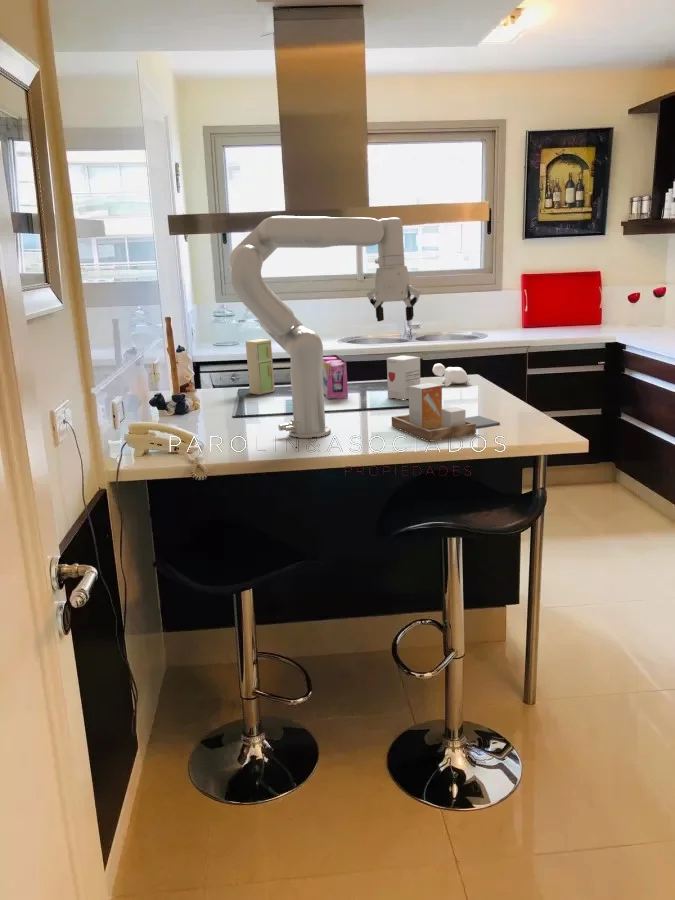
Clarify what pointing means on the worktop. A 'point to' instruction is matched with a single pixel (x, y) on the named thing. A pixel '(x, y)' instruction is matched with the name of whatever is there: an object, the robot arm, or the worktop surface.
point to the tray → (435, 434)
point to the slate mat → (482, 421)
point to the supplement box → (402, 375)
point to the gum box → (334, 377)
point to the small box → (425, 405)
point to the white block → (453, 417)
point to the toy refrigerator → (260, 366)
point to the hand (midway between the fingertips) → (394, 320)
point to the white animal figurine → (451, 374)
